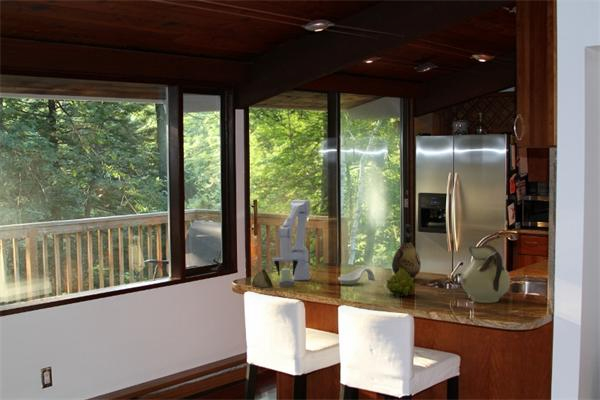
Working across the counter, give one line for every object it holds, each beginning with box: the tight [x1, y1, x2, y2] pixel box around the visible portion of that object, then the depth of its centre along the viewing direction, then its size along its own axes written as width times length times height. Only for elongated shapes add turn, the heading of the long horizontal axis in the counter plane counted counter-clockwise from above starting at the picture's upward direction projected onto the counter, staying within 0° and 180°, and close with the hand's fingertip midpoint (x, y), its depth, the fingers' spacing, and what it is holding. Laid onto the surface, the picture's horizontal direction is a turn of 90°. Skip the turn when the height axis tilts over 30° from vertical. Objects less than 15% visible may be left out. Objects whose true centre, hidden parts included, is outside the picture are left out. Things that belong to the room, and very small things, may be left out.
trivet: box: [278, 278, 295, 288], centre depth 386 cm, size 8×8×3 cm
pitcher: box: [460, 244, 511, 304], centre depth 337 cm, size 22×24×25 cm
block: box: [280, 267, 292, 281], centre depth 386 cm, size 4×4×6 cm
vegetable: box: [386, 268, 417, 298], centre depth 353 cm, size 15×16×15 cm
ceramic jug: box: [391, 224, 422, 279], centre depth 396 cm, size 17×15×30 cm
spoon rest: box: [337, 267, 376, 286], centre depth 390 cm, size 24×12×7 cm, turn 132°
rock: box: [251, 268, 274, 288], centre depth 384 cm, size 11×9×10 cm
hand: (286, 275), depth 386 cm, fingers open, 7 cm apart
